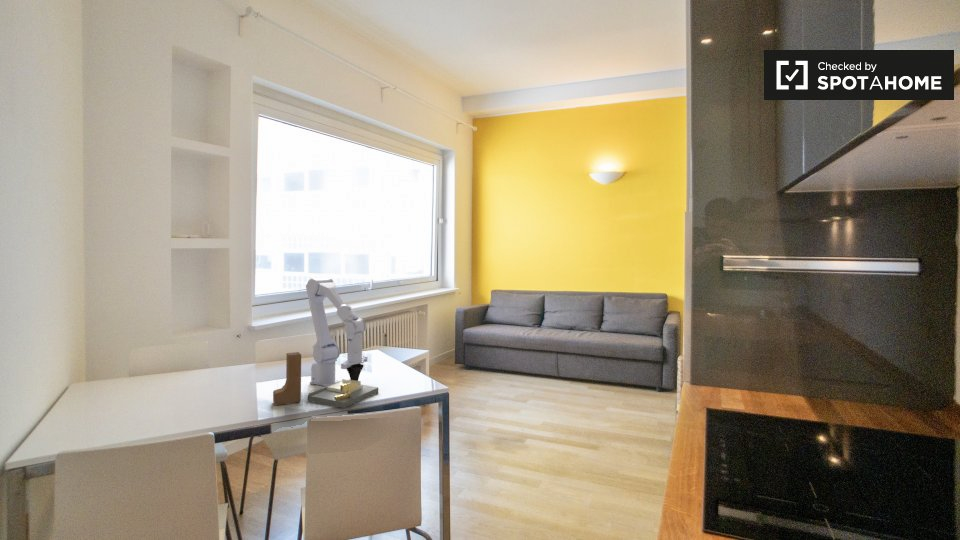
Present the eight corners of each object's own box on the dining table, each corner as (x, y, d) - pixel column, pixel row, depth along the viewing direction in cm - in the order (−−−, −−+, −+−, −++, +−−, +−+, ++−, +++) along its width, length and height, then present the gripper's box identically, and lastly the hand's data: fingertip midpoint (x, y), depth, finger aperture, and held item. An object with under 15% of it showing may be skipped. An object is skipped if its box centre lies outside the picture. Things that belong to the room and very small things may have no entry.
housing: (307, 400, 187) (307, 392, 187) (343, 386, 206) (343, 379, 206) (344, 408, 180) (344, 399, 180) (378, 392, 200) (378, 384, 200)
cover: (327, 390, 194) (327, 383, 194) (342, 384, 202) (342, 378, 202) (348, 393, 190) (348, 387, 190) (362, 387, 198) (362, 381, 198)
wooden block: (274, 406, 180) (275, 356, 179) (273, 402, 184) (273, 353, 183) (301, 402, 185) (301, 354, 184) (298, 399, 189) (299, 351, 188)
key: (336, 400, 182) (336, 386, 182) (334, 399, 183) (334, 386, 182) (356, 395, 188) (356, 382, 188) (354, 394, 189) (354, 381, 189)
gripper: (351, 354, 192) (351, 388, 193) (373, 347, 206) (373, 379, 207) (336, 351, 195) (336, 386, 196) (359, 345, 208) (359, 377, 209)
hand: (354, 382), depth 201 cm, fingers closed
